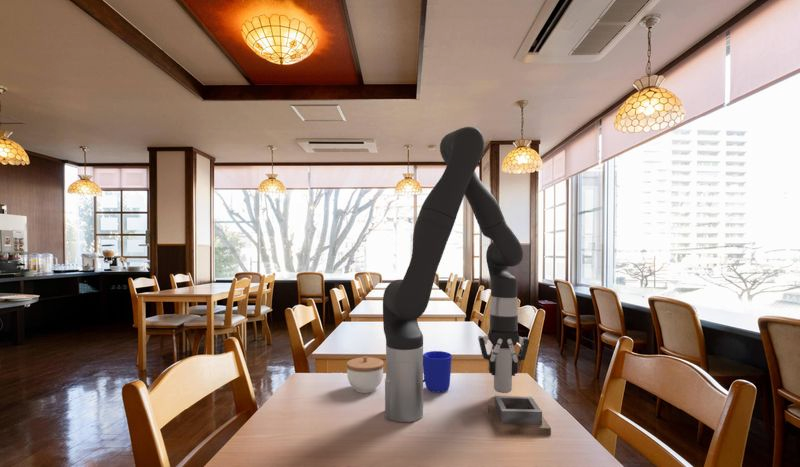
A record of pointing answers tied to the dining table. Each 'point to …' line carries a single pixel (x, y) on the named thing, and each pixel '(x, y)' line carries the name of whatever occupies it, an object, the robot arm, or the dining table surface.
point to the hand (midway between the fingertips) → (503, 374)
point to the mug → (437, 370)
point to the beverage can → (503, 371)
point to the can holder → (517, 416)
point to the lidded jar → (365, 373)
